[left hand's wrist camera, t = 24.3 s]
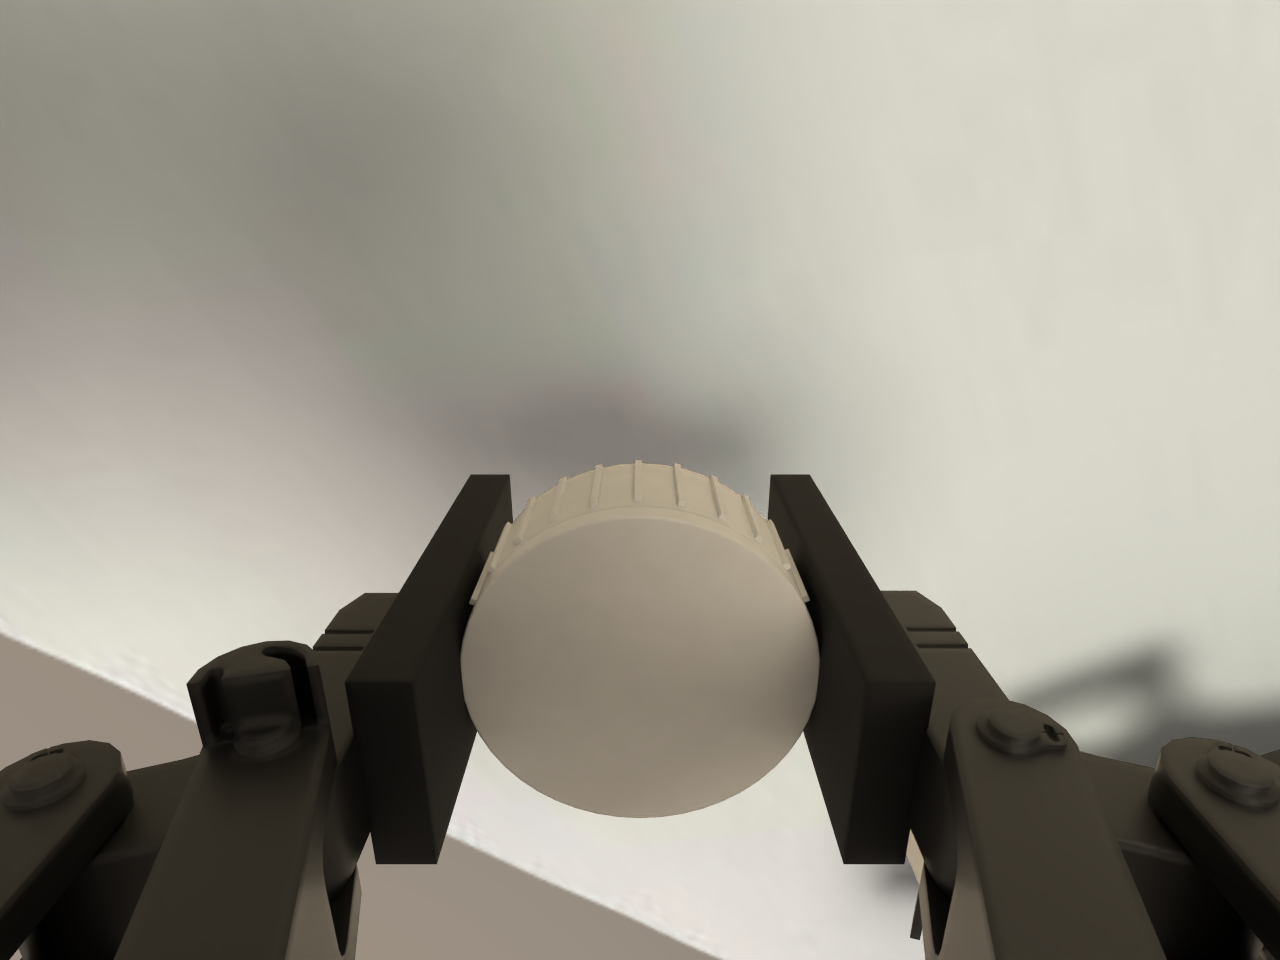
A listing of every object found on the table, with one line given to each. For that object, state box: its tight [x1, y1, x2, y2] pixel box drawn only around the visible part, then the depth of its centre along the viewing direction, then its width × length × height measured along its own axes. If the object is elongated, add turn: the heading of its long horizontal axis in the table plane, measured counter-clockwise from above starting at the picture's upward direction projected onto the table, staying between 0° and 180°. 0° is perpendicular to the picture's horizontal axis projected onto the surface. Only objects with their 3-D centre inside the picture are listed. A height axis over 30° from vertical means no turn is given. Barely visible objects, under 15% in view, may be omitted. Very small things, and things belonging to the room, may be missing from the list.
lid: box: [460, 460, 820, 818], centre depth 11 cm, size 5×5×2 cm
